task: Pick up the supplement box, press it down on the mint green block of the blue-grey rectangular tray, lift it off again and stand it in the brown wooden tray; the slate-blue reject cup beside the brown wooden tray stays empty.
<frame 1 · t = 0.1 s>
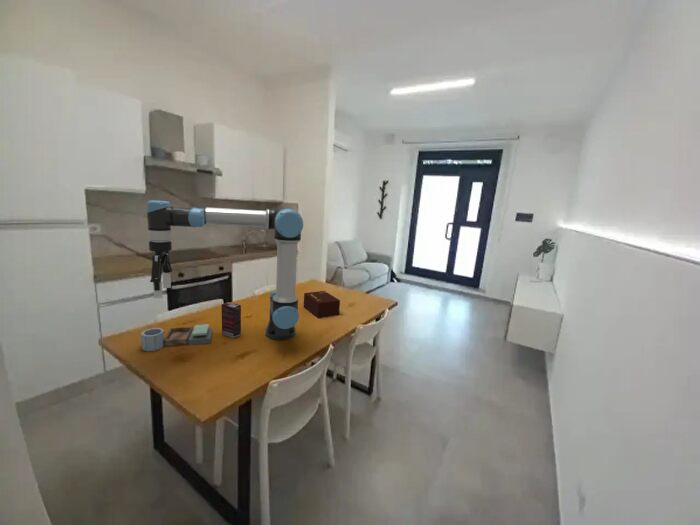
hand: (162, 292, 121), 28 cm above the table, fingers open, 13 cm apart
blue-grey rectangular tray: (201, 338, 144), on the table
supplement box: (231, 334, 150), on the table
brown wooden tray: (179, 339, 142), on the table
mint green block: (200, 332, 143), point 3 cm above the table, slide at -0.4 cm
box: (321, 311, 192), on the table
reject cup: (153, 346, 133), on the table
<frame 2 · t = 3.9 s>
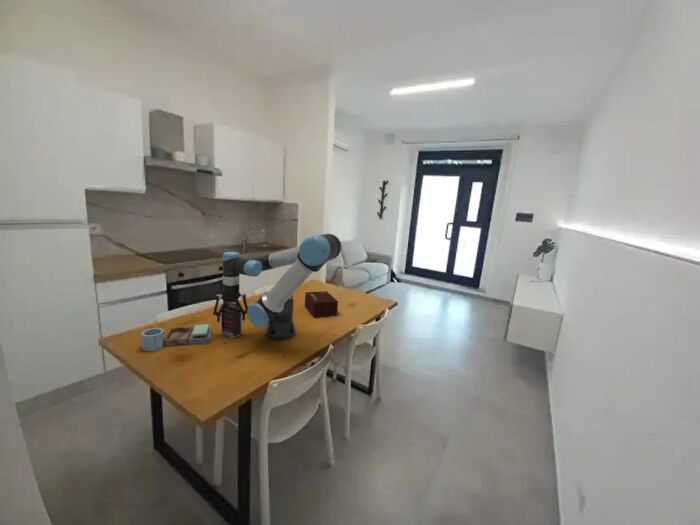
hand: (231, 327, 149), 4 cm above the table, fingers closed on supplement box, 9 cm apart
supplement box: (231, 334, 150), on the table, touching gripper
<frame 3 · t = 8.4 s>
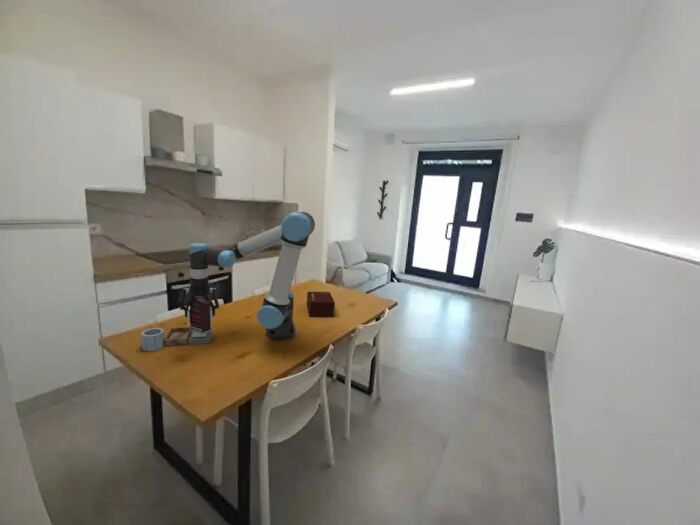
hand: (200, 322, 142), 8 cm above the table, fingers closed on supplement box, 9 cm apart
supplement box: (200, 330, 143), point 4 cm above the table, touching mint green block, gripper
mint green block: (201, 333, 143), point 2 cm above the table, slide at -1.2 cm, touching supplement box
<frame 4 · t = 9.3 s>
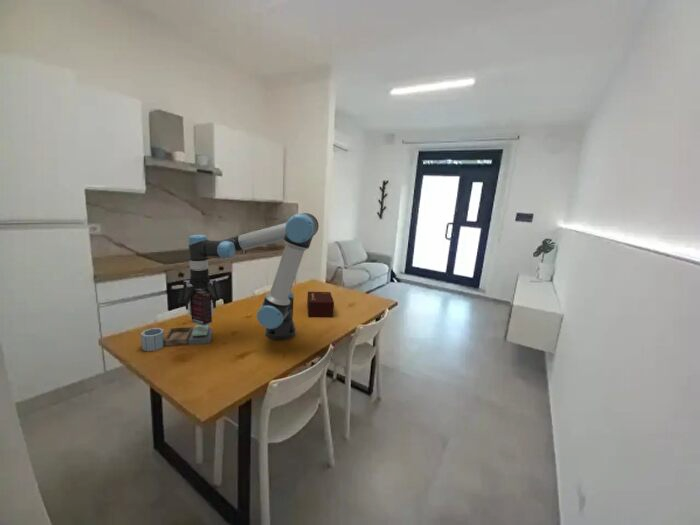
hand: (201, 315, 141), 12 cm above the table, fingers closed on supplement box, 9 cm apart
supplement box: (202, 323, 142), point 8 cm above the table, touching gripper
mint green block: (200, 332, 143), point 3 cm above the table, slide at -0.4 cm
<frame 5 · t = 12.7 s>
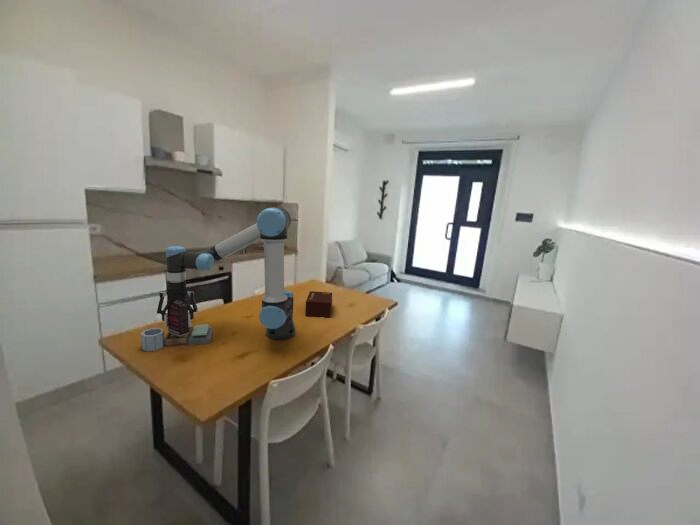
hand: (178, 326, 140), 6 cm above the table, fingers closed on supplement box, 9 cm apart
supplement box: (178, 333, 141), point 3 cm above the table, touching gripper, brown wooden tray
when the fingers open (6 cm above the table, at t = 13.0 s): supplement box stays where it is, resting on brown wooden tray.
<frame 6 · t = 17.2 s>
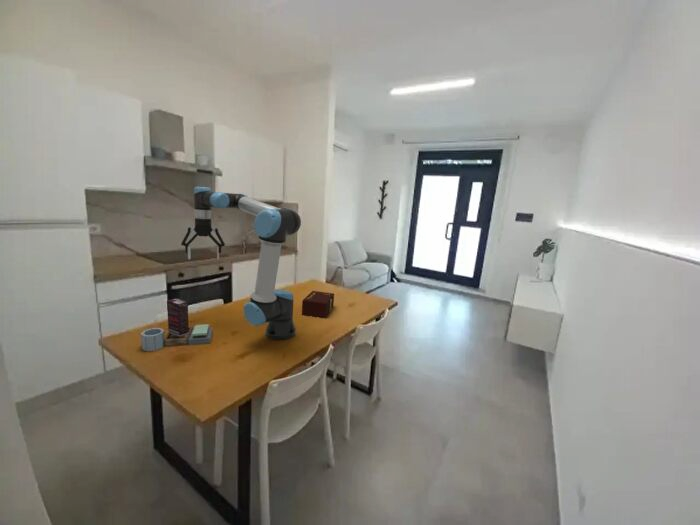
hand: (204, 259, 156), 35 cm above the table, fingers open, 13 cm apart
supplement box: (178, 333, 141), point 3 cm above the table, touching brown wooden tray
at the end: supplement box 0.2 cm off-centre on the brown wooden tray, point 2.8 cm above the brown wooden tray's base; supplement box tilted 0°; the gripper is holding nothing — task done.
